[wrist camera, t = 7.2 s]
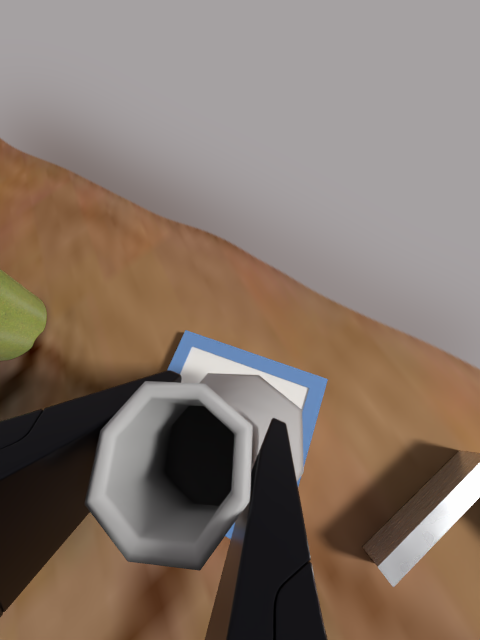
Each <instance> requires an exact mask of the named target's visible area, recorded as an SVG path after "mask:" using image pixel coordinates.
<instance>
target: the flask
mask: <svg viewBox="0 0 480 640" xmlns="http://www.w3.org/2000/svg"><path fill="white" fill-rule="evenodd" d="M272 418H276V419H278V420H280V421H282V422H285V423H286V425H287V430H288V435H289V441H290V446H291V452H292V458H293V463H294V469H295V474H296V480H297V481H298V480H299V478H300V477H301V475H302V474H303V472H304V467H303V425H302V409H300V408H299V407H298V406H297V405H295V404H294V403H293V402H292V401H290V400H289V399H288V398H287V397H286V396H284V395H283V394H282V393H281V392H279V391H278V390H277V389H276V388H274V387H273V386H272V385H271V384H269V383H268V382H267V381H266V380H264V379H263V378H262V377H261V376H260V375H245V374H218V373H208V374H207V375H206V376H205V377H204V378H203V379H202V381H201V382H200V383H177V382H153V381H145V382H144V383H143V384H142V385H141V386H140V387H139V389H138V390H137V391H136V392H135V393H134V394H133V395H132V396H131V397H130V398H129V400H128V401H127V402H126V403H125V404H124V405H123V406H122V407H121V408H120V409H119V411H118V412H117V413H116V414H115V415H114V416H113V417H112V418H111V419H110V421H109V422H108V423H107V424H106V425H105V426H104V427H103V428H102V429H101V430H100V435H99V439H98V444H97V448H96V453H95V458H94V462H93V467H92V471H91V476H90V480H89V485H88V490H87V494H86V499H85V503H84V504H85V506H86V507H87V508H88V509H89V511H90V512H91V513H92V515H93V516H94V517H95V519H96V520H97V521H98V523H99V524H100V525H101V527H102V528H103V529H104V531H105V532H106V533H107V535H108V536H109V537H110V539H111V540H112V541H113V542H114V544H115V545H116V546H117V548H118V549H119V550H120V552H121V553H122V554H123V556H124V557H125V558H126V560H127V561H129V562H137V563H145V564H153V565H161V566H169V567H177V568H185V569H193V570H201V568H202V567H203V566H204V564H205V563H206V561H207V560H208V559H209V557H210V556H211V554H212V553H213V552H214V550H215V549H216V548H217V546H218V545H219V543H220V542H221V541H222V539H223V538H224V536H225V535H226V534H227V532H228V531H229V529H230V528H231V527H232V525H233V524H234V523H235V521H236V520H237V518H238V517H239V516H240V514H241V513H242V511H243V510H244V509H245V507H246V506H247V504H248V503H249V501H250V490H251V471H252V468H253V466H254V463H255V461H256V458H257V455H258V453H259V450H260V447H261V445H262V442H263V440H264V437H265V435H266V432H267V430H268V427H269V424H270V422H271V419H272Z"/></svg>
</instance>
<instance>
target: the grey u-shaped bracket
mask: <svg viewBox="0 0 480 640" xmlns="http://www.w3.org/2000/svg"><path fill="white" fill-rule="evenodd" d="M479 497H480V453H475V452H468V451H460V450H459V451H458V452H457V453H456V454H455V455H454V456H453V457H452V458H451V459H450V460H449V461H448V462H447V463H446V464H445V465H444V466H443V467H442V468H441V469H440V470H439V471H438V472H437V473H436V474H435V475H434V476H433V477H432V478H431V479H430V480H429V481H428V482H427V483H426V484H425V485H424V486H423V487H422V488H421V489H420V490H419V491H418V492H417V493H416V494H415V495H414V496H413V497H412V498H411V499H410V500H409V501H408V502H407V503H406V504H405V505H404V506H403V507H402V508H401V509H400V510H399V511H398V512H397V513H396V514H395V515H394V516H393V517H392V518H391V519H390V520H389V521H388V522H387V523H386V524H385V525H384V526H383V527H382V528H381V529H380V530H379V531H378V532H377V533H376V534H375V535H374V536H373V537H372V538H371V539H370V540H369V541H368V542H367V543H366V544H365V545H364V546H363V548H364V549H365V551H366V552H367V553H368V555H369V556H370V557H371V559H372V560H373V561H374V563H375V564H376V565H377V567H378V568H379V569H380V571H381V572H382V573H383V574H384V576H385V577H386V578H387V580H388V581H389V582H390V584H391V585H392V586H393V587H394V586H395V585H396V584H397V583H398V582H399V581H400V580H401V579H402V578H403V577H404V576H405V575H406V574H407V572H408V571H409V570H410V569H411V568H412V567H413V566H414V565H415V564H416V563H417V562H418V561H419V560H420V559H421V558H422V557H423V556H424V555H425V554H426V553H427V552H428V551H429V550H430V548H431V547H432V546H433V545H434V544H435V543H436V542H437V541H438V540H439V539H440V538H441V537H442V536H443V535H444V534H445V533H446V532H447V531H448V530H449V529H450V528H451V527H452V525H453V524H454V523H455V522H456V521H457V520H458V519H459V518H460V517H461V516H462V515H463V514H464V513H465V512H466V511H467V510H468V509H469V508H470V507H471V506H472V505H473V504H474V503H475V501H476V500H477V499H478V498H479Z"/></svg>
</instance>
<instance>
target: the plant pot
mask: <svg viewBox="0 0 480 640" xmlns="http://www.w3.org/2000/svg"><path fill="white" fill-rule="evenodd" d="M46 320H47V313H46V308H45V306H44V304H43V302H42V301H41V300H40V299H39V298H38V297H36V296H35V295H34V294H32V293H31V292H30V291H28V290H27V289H26V288H24V287H23V286H22V285H20V284H19V283H18V282H16V281H15V280H14V279H13V278H11V277H10V276H9V275H7V274H6V273H5V272H3V271H2V270H1V269H0V361H3V360H10V359H13V358H16V357H18V356H20V355H22V354H24V353H25V352H27V351H28V350H29V349H30V348H31V347H32V346H33V343H34V341H35V340H36V338H37V337H38V336H39V335H40V334H41V333H42V332H43V331H44V328H45V325H46Z"/></svg>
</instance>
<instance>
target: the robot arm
mask: <svg viewBox="0 0 480 640" xmlns="http://www.w3.org/2000/svg"><path fill="white" fill-rule="evenodd" d="M181 380H182V377H181V375H180V374H178V373H176V372H174V371H171V370H168V371H164V372H161V373H158V374H155V375H151V376H148V377H145V378H142V379H138V380H135V381H132V382H128V383H125V384H122V385H119V386H115V387H112V388H109V389H106V390H102V391H99V392H96V393H93V394H89V395H86V396H83V397H80V398H76V399H73V400H70V401H67V402H63V403H60V404H57V405H54V406H50V407H47V408H45V409H44V410H42V409H40V410H37V411H34V412H31V413H27V414H24V415H21V416H17V417H14V418H10V419H7V420H3V421H0V617H1V616H2V614H3V612H5V611H6V610H7V609H8V607H9V606H10V605H11V604H12V603H13V602H14V600H15V599H16V598H17V597H18V596H19V594H20V593H21V592H22V591H23V590H24V589H25V587H26V586H27V585H28V584H29V583H30V582H31V580H32V579H33V578H34V577H35V576H36V575H37V573H38V572H39V571H40V570H41V569H42V567H43V566H44V565H45V564H46V563H47V562H48V560H49V559H50V558H51V557H52V556H53V555H54V553H55V552H56V551H57V550H58V549H59V547H60V546H61V545H62V544H63V543H64V542H65V540H66V539H67V538H68V537H69V536H70V535H71V533H72V532H73V531H74V530H75V529H76V528H77V526H78V525H79V524H80V523H81V522H82V520H83V519H84V518H85V517H86V516H87V515H88V513H89V512H90V511H89V509H88V508H87V507H86V506H85V504H84V503H85V499H86V494H87V490H88V485H89V480H90V476H91V471H92V467H93V462H94V458H95V453H96V448H97V444H98V439H99V435H100V430H101V429H102V428H103V427H104V426H105V425H106V424H107V423H108V422H109V421H110V419H111V418H112V417H113V416H114V415H115V414H116V413H117V412H118V411H119V409H120V408H121V407H122V406H123V405H124V404H125V403H126V402H127V401H128V400H129V398H130V397H131V396H132V395H133V394H134V393H135V392H136V391H137V390H138V389H139V387H140V386H141V385H142V384H143V383H144V382H145V381H153V382H177V383H181ZM310 560H311V557H310V552H309V546H308V541H307V535H306V529H305V524H304V518H303V513H302V507H301V502H300V496H299V491H298V485H297V480H296V474H295V469H294V463H293V458H292V452H291V446H290V441H289V435H288V430H287V425H286V423H285V422H282V421H280V420H278V419H276V418H272V419H271V422H270V424H269V427H268V430H267V432H266V435H265V437H264V440H263V442H262V445H261V447H260V450H259V453H258V455H257V458H256V461H255V463H254V466H253V468H252V471H251V490H250V501H249V503H248V504H247V506H246V507H245V509H244V510H243V511H242V513H241V514H240V516H239V517H238V518H237V520H236V521H235V525H234V529H233V533H232V537H231V541H230V545H229V548H228V552H227V556H226V560H225V564H224V568H223V572H222V575H221V579H220V583H219V587H218V591H217V595H216V599H215V602H214V606H213V610H212V614H211V618H210V622H209V626H208V629H207V633H206V637H205V640H328V639H327V635H326V631H325V627H324V623H323V618H322V613H321V609H320V604H319V599H318V594H317V589H316V584H315V578H314V573H313V567H312V563H311V562H309V561H310Z"/></svg>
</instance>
